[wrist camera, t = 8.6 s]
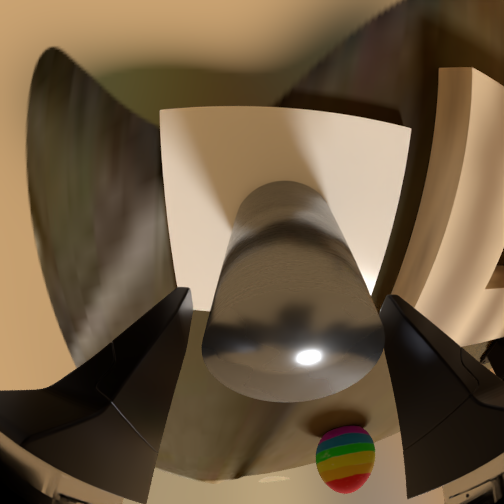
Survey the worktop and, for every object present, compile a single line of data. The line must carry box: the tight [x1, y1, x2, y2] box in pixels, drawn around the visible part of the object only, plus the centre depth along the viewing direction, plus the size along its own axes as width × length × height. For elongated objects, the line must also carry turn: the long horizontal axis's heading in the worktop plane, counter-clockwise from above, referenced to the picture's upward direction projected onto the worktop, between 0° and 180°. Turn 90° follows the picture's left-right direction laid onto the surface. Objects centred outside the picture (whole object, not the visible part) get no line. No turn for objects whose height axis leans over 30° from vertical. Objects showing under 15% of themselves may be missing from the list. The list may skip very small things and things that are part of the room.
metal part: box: [202, 181, 385, 402], centre depth 10 cm, size 5×5×8 cm
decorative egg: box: [316, 426, 375, 494], centre depth 26 cm, size 8×8×10 cm
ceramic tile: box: [160, 106, 411, 311], centre depth 14 cm, size 12×12×1 cm
